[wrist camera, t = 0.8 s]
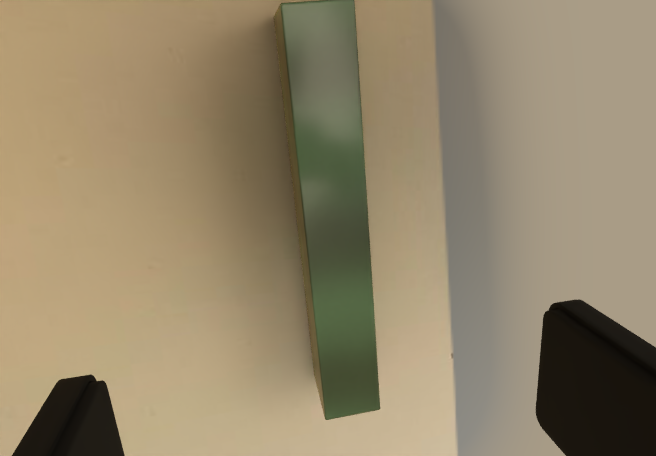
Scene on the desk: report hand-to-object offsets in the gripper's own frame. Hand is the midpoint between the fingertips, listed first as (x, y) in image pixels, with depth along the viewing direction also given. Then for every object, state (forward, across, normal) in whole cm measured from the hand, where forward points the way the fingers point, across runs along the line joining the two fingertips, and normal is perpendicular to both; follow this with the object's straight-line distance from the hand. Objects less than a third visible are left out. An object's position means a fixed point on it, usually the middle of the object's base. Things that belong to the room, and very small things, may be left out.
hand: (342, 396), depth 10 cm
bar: (+16, -2, +1) cm, 16 cm away
